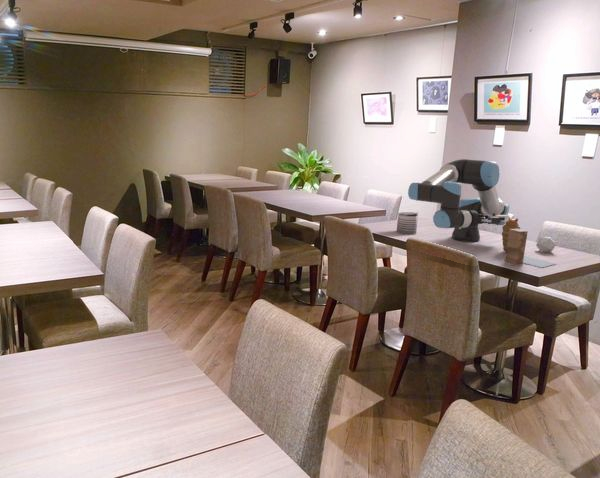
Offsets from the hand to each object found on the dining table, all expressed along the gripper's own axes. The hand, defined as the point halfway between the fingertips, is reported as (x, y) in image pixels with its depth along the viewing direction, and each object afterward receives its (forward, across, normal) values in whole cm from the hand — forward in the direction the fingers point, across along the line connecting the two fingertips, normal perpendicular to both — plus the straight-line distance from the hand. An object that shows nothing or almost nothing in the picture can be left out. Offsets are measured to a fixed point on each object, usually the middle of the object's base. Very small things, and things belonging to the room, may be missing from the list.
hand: (507, 218), depth 230 cm
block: (+8, 0, -22) cm, 23 cm away
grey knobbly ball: (+46, -16, -22) cm, 53 cm away
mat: (+21, -2, -22) cm, 30 cm away
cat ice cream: (+23, -19, -22) cm, 37 cm away
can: (-2, -71, -22) cm, 74 cm away
